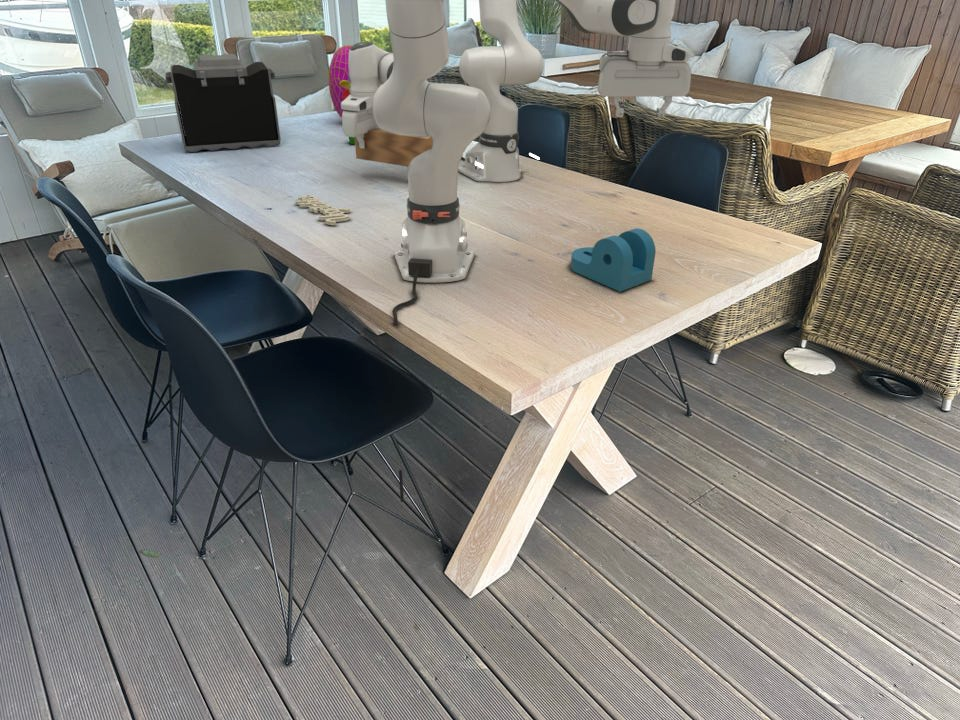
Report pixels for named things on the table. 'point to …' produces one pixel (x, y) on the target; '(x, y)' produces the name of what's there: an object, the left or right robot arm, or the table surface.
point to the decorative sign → (323, 209)
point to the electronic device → (225, 104)
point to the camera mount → (617, 260)
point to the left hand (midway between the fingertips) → (639, 117)
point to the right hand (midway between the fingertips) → (368, 146)
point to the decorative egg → (338, 76)
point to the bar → (391, 147)
